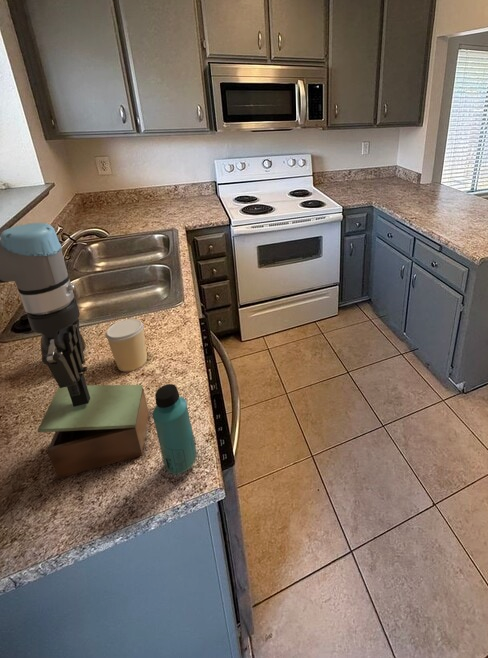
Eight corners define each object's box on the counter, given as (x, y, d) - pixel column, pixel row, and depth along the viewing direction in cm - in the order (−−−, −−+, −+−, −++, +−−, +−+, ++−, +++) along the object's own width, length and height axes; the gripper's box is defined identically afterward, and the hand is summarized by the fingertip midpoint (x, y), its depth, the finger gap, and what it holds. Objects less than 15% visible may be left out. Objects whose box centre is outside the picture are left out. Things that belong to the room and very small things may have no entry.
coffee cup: (152, 348, 109) (145, 315, 105) (147, 369, 101) (139, 333, 97) (118, 355, 107) (109, 321, 103) (110, 377, 98) (101, 340, 94)
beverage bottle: (204, 453, 77) (191, 380, 70) (186, 484, 71) (170, 407, 64) (177, 447, 78) (162, 374, 71) (157, 477, 72) (139, 400, 65)
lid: (37, 432, 68) (37, 429, 67) (58, 388, 78) (59, 385, 78) (134, 427, 74) (135, 424, 74) (142, 387, 84) (143, 384, 84)
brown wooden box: (57, 478, 72) (46, 450, 69) (75, 431, 82) (66, 405, 80) (142, 455, 77) (135, 428, 74) (149, 412, 87) (143, 387, 84)
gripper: (62, 320, 62) (94, 422, 70) (84, 285, 74) (109, 376, 81) (10, 329, 60) (49, 433, 68) (41, 291, 71) (71, 384, 79)
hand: (82, 402), depth 75 cm, fingers closed
